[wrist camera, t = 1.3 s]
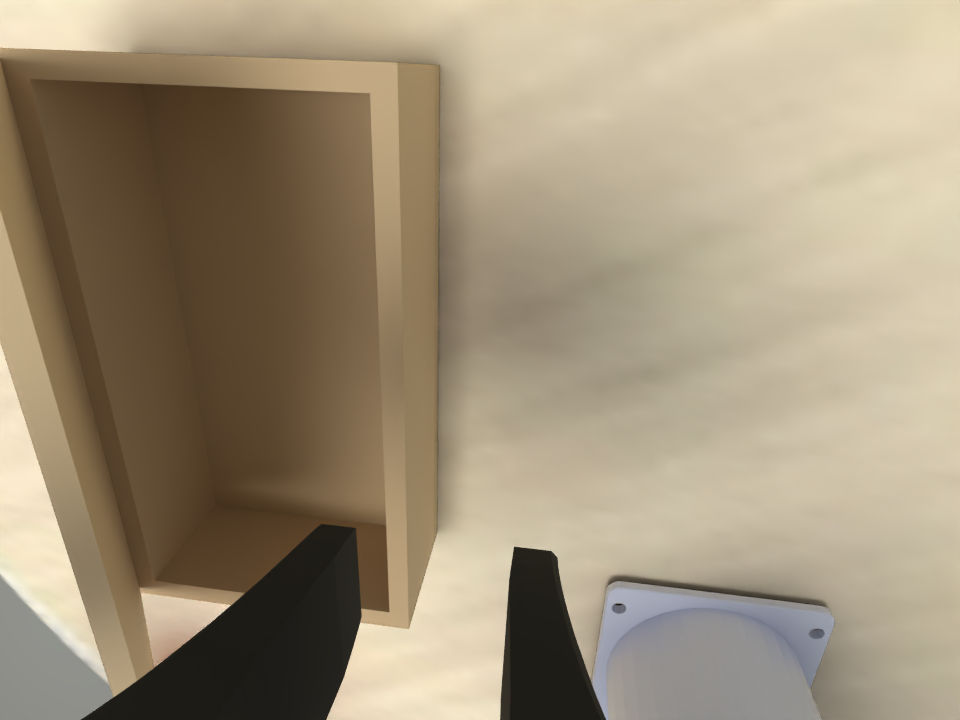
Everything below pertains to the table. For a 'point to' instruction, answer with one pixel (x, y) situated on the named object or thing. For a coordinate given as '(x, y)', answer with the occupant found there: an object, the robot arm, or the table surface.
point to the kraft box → (249, 303)
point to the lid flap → (64, 418)
